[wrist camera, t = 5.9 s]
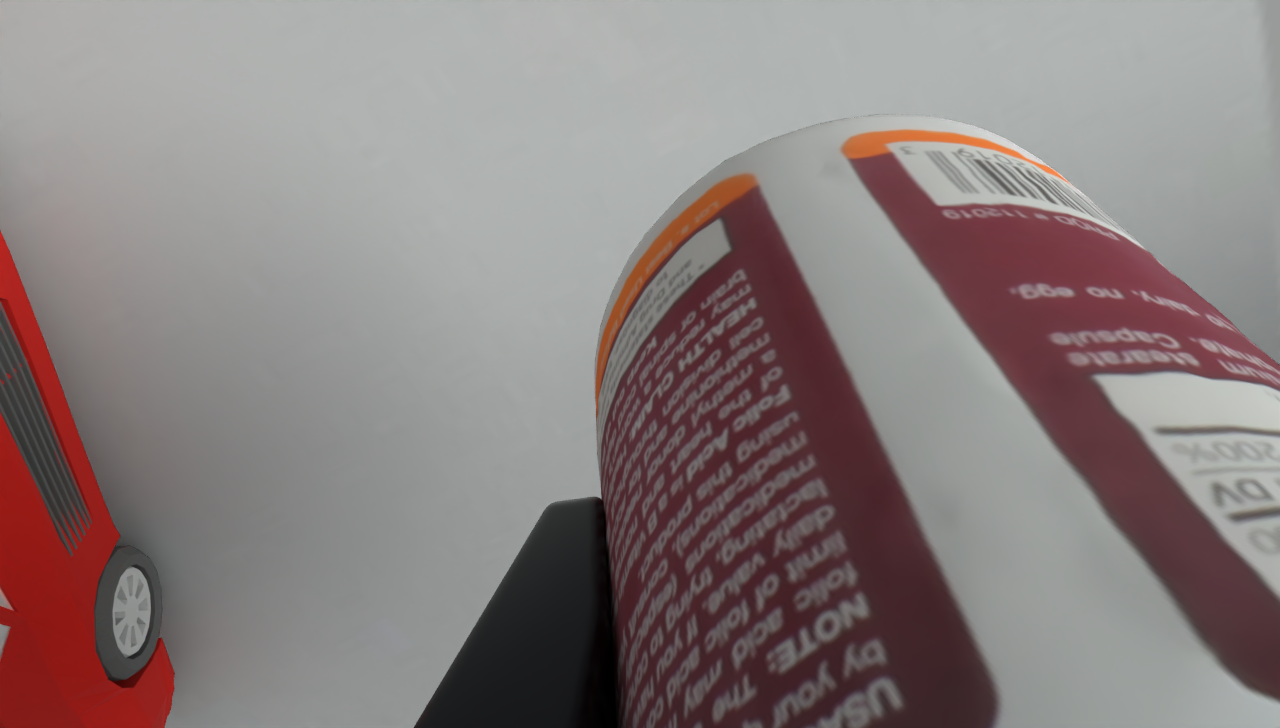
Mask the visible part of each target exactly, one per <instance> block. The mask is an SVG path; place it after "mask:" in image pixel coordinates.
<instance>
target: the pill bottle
mask: <svg viewBox="0 0 1280 728" xmlns="http://www.w3.org/2000/svg"><path fill="white" fill-rule="evenodd" d="M595 401H596V425H597V456H598V464H599V473H600V481H601V495H602V501H603V503H604V513H605V524H606V551H607V561H608V575H609V591H610V604H611V631H612V644H613V658H614V690H615V709H616V722H617V728H1280V365H1278V364H1277V363H1276V362H1275V361H1274V360H1273V359H1271V358H1270V357H1269V356H1268V355H1267V354H1265V353H1264V352H1263V351H1262V350H1261V349H1260V348H1258V347H1257V346H1256V345H1255V344H1254V343H1252V342H1251V341H1250V340H1249V339H1248V338H1247V337H1245V336H1244V335H1243V334H1242V333H1241V332H1240V331H1239V330H1238V329H1237V328H1236V327H1235V326H1234V325H1233V324H1232V322H1231V321H1230V320H1228V319H1227V318H1226V317H1225V316H1224V315H1223V314H1222V313H1220V312H1219V311H1218V310H1217V309H1216V308H1215V307H1213V306H1212V305H1211V304H1210V303H1208V302H1207V301H1206V300H1204V299H1203V298H1202V297H1201V296H1199V295H1198V294H1197V293H1196V292H1195V291H1194V290H1192V289H1191V288H1190V287H1189V286H1188V285H1187V284H1185V283H1184V282H1183V281H1181V280H1180V279H1179V278H1178V277H1176V276H1175V275H1174V274H1173V273H1171V272H1170V271H1169V270H1168V269H1167V268H1166V267H1165V266H1163V265H1162V264H1161V263H1160V262H1159V261H1158V260H1157V259H1156V258H1155V257H1154V256H1153V255H1152V254H1151V253H1149V252H1148V251H1147V250H1146V249H1145V248H1144V247H1142V246H1141V245H1140V244H1139V243H1138V242H1137V241H1136V240H1135V239H1134V238H1133V237H1132V236H1131V235H1130V234H1129V233H1128V232H1127V231H1125V230H1124V229H1123V228H1122V227H1120V226H1119V225H1118V224H1117V223H1115V222H1114V221H1113V220H1112V219H1111V218H1110V217H1109V216H1108V215H1107V214H1105V213H1104V212H1103V211H1102V210H1101V209H1100V208H1098V207H1097V206H1096V205H1095V204H1094V203H1093V202H1092V201H1091V200H1090V199H1089V198H1088V197H1087V196H1085V195H1084V194H1083V193H1082V192H1081V191H1079V190H1078V189H1077V188H1075V187H1074V186H1073V185H1072V184H1071V183H1070V182H1069V181H1067V180H1066V179H1065V178H1064V177H1063V176H1061V175H1060V174H1059V173H1057V172H1056V171H1055V170H1053V169H1052V168H1051V167H1049V166H1048V165H1047V164H1045V163H1044V162H1043V161H1041V160H1040V159H1039V158H1037V157H1036V156H1034V155H1032V154H1031V153H1029V152H1027V151H1026V150H1024V149H1022V148H1021V147H1019V146H1017V145H1015V144H1014V143H1012V142H1011V141H1009V140H1007V139H1005V138H1003V137H1001V136H998V135H996V134H994V133H991V132H989V131H987V130H985V129H982V128H979V127H976V126H972V125H969V124H965V123H961V122H957V121H953V120H948V119H944V118H938V117H932V116H924V115H869V116H862V117H854V118H845V119H840V120H835V121H830V122H825V123H820V124H817V125H813V126H809V127H806V128H803V129H800V130H797V131H794V132H791V133H788V134H785V135H781V136H778V137H775V138H772V139H770V140H767V141H765V142H763V143H760V144H758V145H756V146H754V147H752V148H750V149H748V150H746V151H744V152H742V153H740V154H738V155H736V156H733V157H731V158H729V159H727V160H725V161H723V162H722V163H721V164H720V165H718V166H717V167H716V168H714V169H713V170H712V171H710V172H709V173H708V174H706V175H705V176H704V177H702V178H701V179H700V180H699V181H697V182H696V183H695V184H694V185H693V186H691V187H690V188H689V189H688V190H687V191H686V192H684V193H683V194H682V195H681V196H680V197H679V198H678V199H677V200H676V201H675V202H674V203H673V204H672V205H671V206H670V207H669V209H668V210H667V211H666V212H665V213H664V214H663V215H662V216H661V217H660V218H659V220H658V221H657V222H656V223H655V224H654V225H653V226H652V227H651V228H650V230H649V231H648V232H647V233H646V234H645V235H644V237H643V238H642V240H641V241H640V243H639V244H638V246H637V247H636V249H635V250H634V252H633V253H632V255H631V256H630V258H629V259H628V261H627V263H626V265H625V267H624V269H623V271H622V273H621V275H620V277H619V279H618V281H617V283H616V285H615V287H614V289H613V291H612V294H611V296H610V299H609V302H608V304H607V307H606V310H605V313H604V316H603V320H602V323H601V326H600V332H599V338H598V344H597V351H596V358H595Z"/></svg>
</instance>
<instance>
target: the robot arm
mask: <svg viewBox="0 0 1280 728" xmlns="http://www.w3.org/2000/svg"><path fill="white" fill-rule="evenodd" d="M414 728H617V722H616V709H615V690H614V658H613V644H612V631H611V604H610V591H609V575H608V561H607V551H606V524H605V513H604V503H603V501H602V500H601V499H600V498H598V497H587V498H580V499H573V500H566V501H558V502H554V503H551V504H550V505H549V506H548V507H546V509H545V510H544V512H543V514H542V515H541V517H540V519H539V520H538V522H537V524H536V525H535V527H534V529H533V530H532V532H531V534H530V535H529V537H528V539H527V540H526V542H525V544H524V545H523V547H522V549H521V550H520V552H519V553H518V555H517V557H516V558H515V560H514V562H513V563H512V565H511V567H510V568H509V570H508V572H507V573H506V575H505V577H504V578H503V580H502V582H501V583H500V585H499V587H498V588H497V590H496V592H495V593H494V595H493V597H492V598H491V600H490V602H489V603H488V605H487V607H486V608H485V610H484V612H483V613H482V615H481V617H480V618H479V620H478V622H477V623H476V625H475V627H474V628H473V630H472V632H471V633H470V635H469V637H468V638H467V640H466V642H465V643H464V645H463V647H462V648H461V650H460V652H459V653H458V655H457V657H456V658H455V660H454V662H453V663H452V665H451V666H450V668H449V670H448V671H447V673H446V675H445V676H444V678H443V680H442V681H441V683H440V685H439V686H438V688H437V690H436V691H435V693H434V695H433V696H432V698H431V700H430V701H429V703H428V705H427V706H426V708H425V710H424V711H423V713H422V715H421V716H420V718H419V720H418V721H417V723H416V725H415V726H414Z"/></svg>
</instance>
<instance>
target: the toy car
mask: <svg viewBox="0 0 1280 728" xmlns="http://www.w3.org/2000/svg"><path fill="white" fill-rule="evenodd" d="M119 537H120V534H119V532H118V531H117V529H116V528H115V526H114V524H113V522H112V519H111V517H110V514H109V512H108V509H107V507H106V505H105V502H104V499H103V497H102V494H101V492H100V489H99V486H98V484H97V481H96V478H95V476H94V473H93V471H92V468H91V465H90V463H89V460H88V457H87V455H86V452H85V450H84V447H83V444H82V442H81V439H80V436H79V434H78V431H77V428H76V426H75V423H74V420H73V417H72V415H71V412H70V409H69V406H68V404H67V401H66V398H65V396H64V393H63V390H62V387H61V385H60V382H59V379H58V376H57V374H56V371H55V368H54V365H53V363H52V360H51V357H50V354H49V352H48V349H47V346H46V344H45V341H44V338H43V336H42V333H41V331H40V328H39V326H38V323H37V320H36V318H35V315H34V313H33V310H32V308H31V305H30V302H29V300H28V297H27V295H26V292H25V290H24V287H23V285H22V282H21V279H20V277H19V274H18V272H17V269H16V267H15V264H14V261H13V259H12V256H11V254H10V251H9V249H8V247H7V245H6V242H5V240H4V238H3V236H2V234H1V231H0V728H164V727H165V723H166V719H167V716H168V715H169V713H170V710H171V705H172V696H173V692H174V675H175V673H174V670H173V667H172V665H171V662H170V659H169V656H168V654H167V651H166V648H165V645H164V642H163V640H162V638H158V636H159V633H160V627H161V618H162V594H161V586H160V582H159V578H158V574H157V570H156V569H155V567H154V565H153V564H152V562H151V560H150V559H149V557H147V556H146V555H145V554H143V553H142V552H141V551H139V550H137V549H135V548H133V547H131V546H118V547H115V545H116V543H117V541H118V539H119Z"/></svg>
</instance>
